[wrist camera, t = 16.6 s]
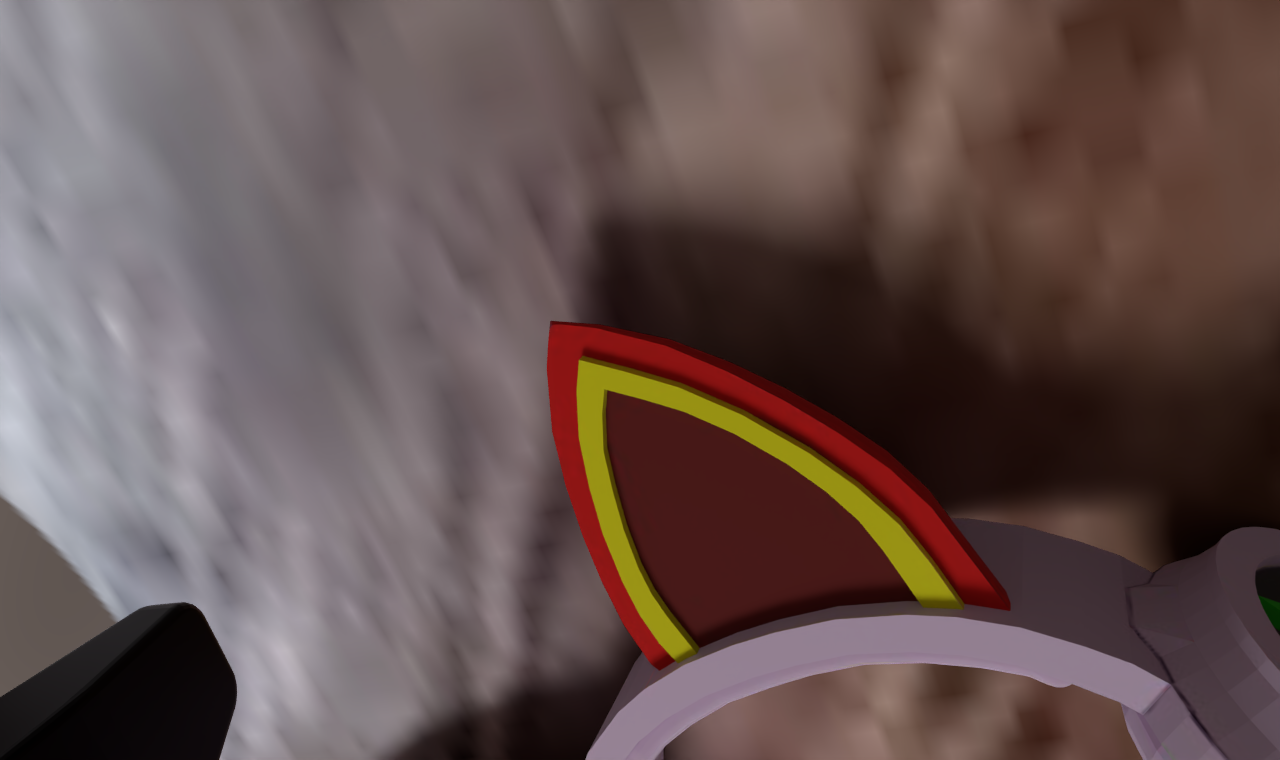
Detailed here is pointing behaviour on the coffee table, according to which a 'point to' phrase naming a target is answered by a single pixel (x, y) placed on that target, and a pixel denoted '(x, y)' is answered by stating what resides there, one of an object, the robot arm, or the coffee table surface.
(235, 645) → the coffee table surface
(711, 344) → the coffee table surface
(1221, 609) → the headphones
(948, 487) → the coffee table surface
